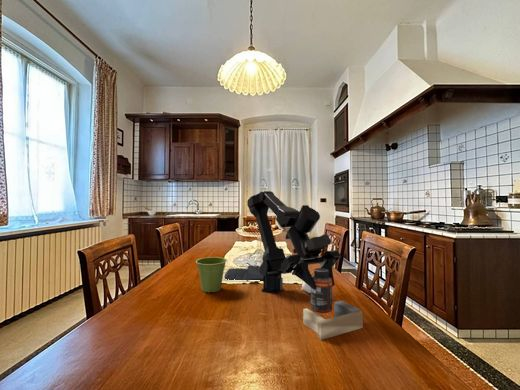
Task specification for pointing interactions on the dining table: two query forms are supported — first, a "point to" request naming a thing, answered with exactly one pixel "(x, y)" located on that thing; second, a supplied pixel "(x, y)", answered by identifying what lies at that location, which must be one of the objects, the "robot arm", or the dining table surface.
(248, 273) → the dark slate chunk
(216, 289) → the plant pot
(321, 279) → the supplement bottle
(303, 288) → the white skull
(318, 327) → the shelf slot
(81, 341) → the dining table surface
